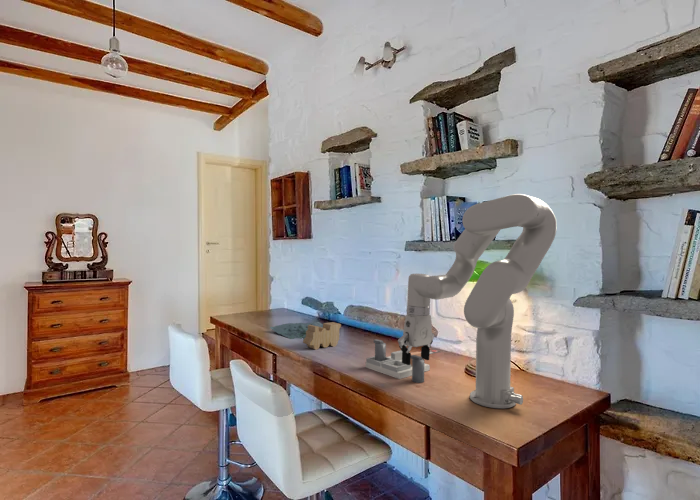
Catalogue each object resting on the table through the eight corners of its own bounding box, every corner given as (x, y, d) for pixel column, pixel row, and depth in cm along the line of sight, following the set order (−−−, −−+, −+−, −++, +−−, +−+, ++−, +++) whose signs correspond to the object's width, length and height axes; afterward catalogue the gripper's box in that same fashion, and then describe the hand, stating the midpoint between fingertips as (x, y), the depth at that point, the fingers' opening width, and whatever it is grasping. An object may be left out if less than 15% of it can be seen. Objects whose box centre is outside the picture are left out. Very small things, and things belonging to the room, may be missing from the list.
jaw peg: (426, 381, 132) (427, 357, 132) (418, 383, 130) (419, 359, 130) (415, 377, 136) (415, 354, 136) (407, 379, 134) (408, 356, 133)
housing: (429, 370, 145) (430, 342, 145) (399, 379, 134) (400, 349, 134) (395, 360, 157) (395, 334, 157) (365, 367, 147) (365, 340, 147)
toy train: (302, 348, 174) (303, 325, 174) (333, 343, 185) (333, 321, 185) (310, 351, 170) (310, 327, 170) (341, 345, 181) (341, 323, 181)
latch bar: (422, 363, 145) (422, 352, 146) (412, 366, 142) (412, 355, 142) (417, 362, 147) (417, 351, 147) (407, 364, 144) (407, 353, 144)
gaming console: (425, 346, 180) (441, 351, 171) (425, 348, 180) (441, 352, 171) (386, 352, 168) (401, 358, 159) (386, 354, 168) (401, 359, 159)
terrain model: (269, 332, 208) (269, 323, 207) (312, 326, 226) (313, 317, 226) (296, 347, 188) (297, 337, 188) (342, 339, 207) (342, 330, 206)
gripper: (409, 315, 124) (406, 369, 125) (443, 310, 136) (440, 360, 136) (392, 311, 130) (389, 362, 131) (425, 307, 141) (423, 354, 142)
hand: (415, 361), depth 133 cm, fingers open, 9 cm apart
